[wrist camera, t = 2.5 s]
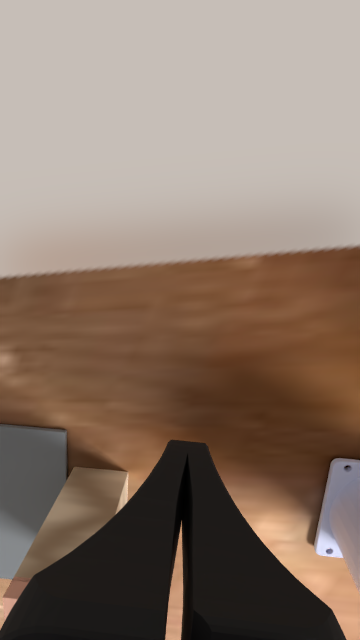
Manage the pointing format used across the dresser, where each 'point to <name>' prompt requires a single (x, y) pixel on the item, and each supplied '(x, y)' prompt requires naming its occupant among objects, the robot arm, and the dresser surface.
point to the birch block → (71, 522)
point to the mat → (27, 487)
